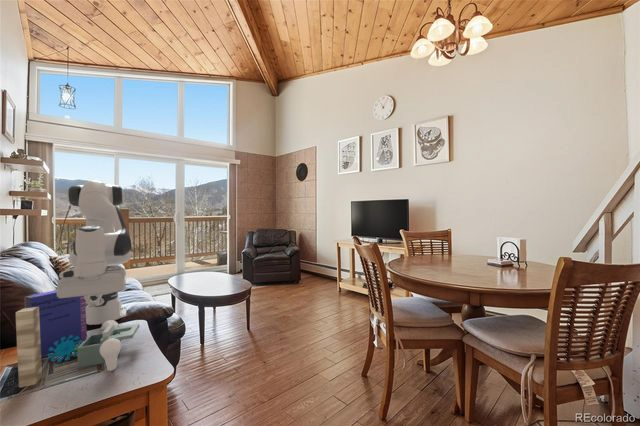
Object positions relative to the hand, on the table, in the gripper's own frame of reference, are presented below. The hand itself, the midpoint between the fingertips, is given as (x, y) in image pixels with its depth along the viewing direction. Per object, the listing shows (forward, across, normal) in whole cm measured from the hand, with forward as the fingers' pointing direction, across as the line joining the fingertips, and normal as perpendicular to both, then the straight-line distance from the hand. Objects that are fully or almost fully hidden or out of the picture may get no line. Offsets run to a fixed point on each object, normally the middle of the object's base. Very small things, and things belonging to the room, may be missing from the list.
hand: (93, 306), depth 105 cm
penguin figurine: (+21, -1, -14) cm, 25 cm away
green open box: (+20, -1, -1) cm, 20 cm away
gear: (+21, +11, -6) cm, 24 cm away
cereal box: (+21, +18, -18) cm, 33 cm away
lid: (+13, -8, -1) cm, 15 cm away
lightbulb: (+20, -8, +13) cm, 25 cm away
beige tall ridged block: (+20, +15, +9) cm, 27 cm away
